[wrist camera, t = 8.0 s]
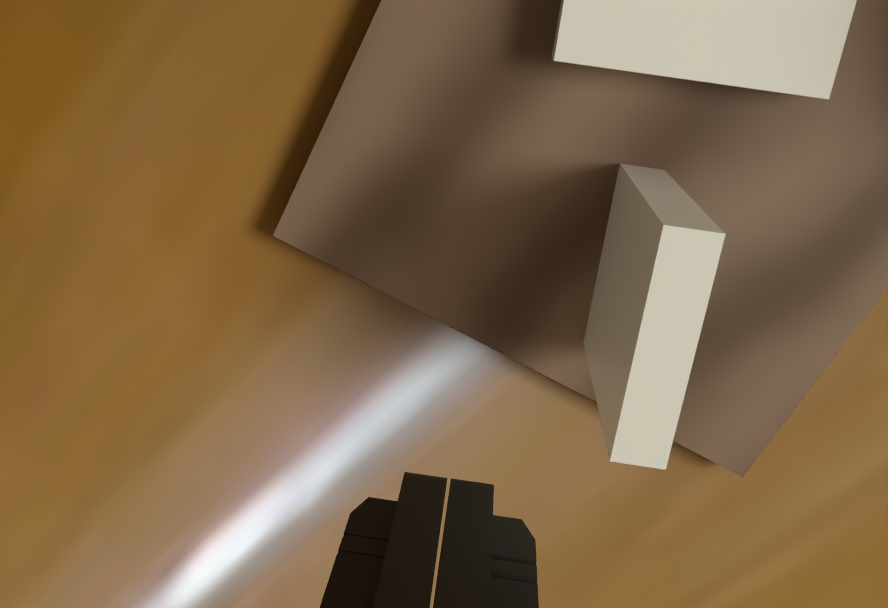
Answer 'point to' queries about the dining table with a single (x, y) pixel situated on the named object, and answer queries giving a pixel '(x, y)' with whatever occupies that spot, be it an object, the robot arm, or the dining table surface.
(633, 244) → the tile
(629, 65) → the tile
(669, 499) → the dining table surface
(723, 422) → the board
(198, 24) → the dining table surface
